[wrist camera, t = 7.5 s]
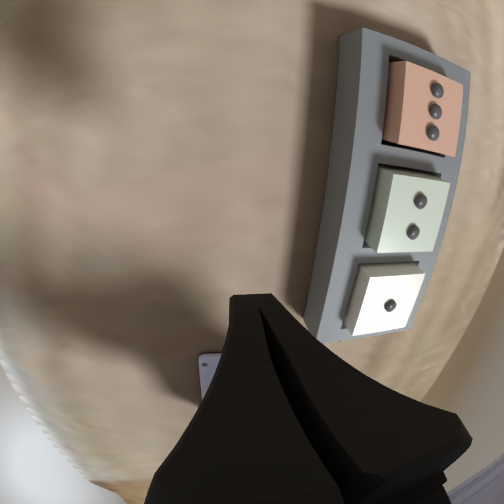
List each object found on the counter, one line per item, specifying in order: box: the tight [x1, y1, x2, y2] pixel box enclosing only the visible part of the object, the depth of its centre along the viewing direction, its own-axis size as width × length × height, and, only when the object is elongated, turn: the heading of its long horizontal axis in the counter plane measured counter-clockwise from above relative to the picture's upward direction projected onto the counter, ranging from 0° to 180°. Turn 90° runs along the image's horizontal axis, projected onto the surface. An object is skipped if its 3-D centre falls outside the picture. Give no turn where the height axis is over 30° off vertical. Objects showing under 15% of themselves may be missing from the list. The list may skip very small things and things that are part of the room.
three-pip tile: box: [382, 61, 463, 157], centre depth 15 cm, size 5×5×4 cm
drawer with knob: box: [343, 261, 425, 336], centre depth 21 cm, size 5×5×4 cm
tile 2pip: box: [364, 163, 450, 253], centre depth 18 cm, size 5×5×4 cm
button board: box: [303, 27, 470, 343], centre depth 19 cm, size 21×9×3 cm, turn 176°
